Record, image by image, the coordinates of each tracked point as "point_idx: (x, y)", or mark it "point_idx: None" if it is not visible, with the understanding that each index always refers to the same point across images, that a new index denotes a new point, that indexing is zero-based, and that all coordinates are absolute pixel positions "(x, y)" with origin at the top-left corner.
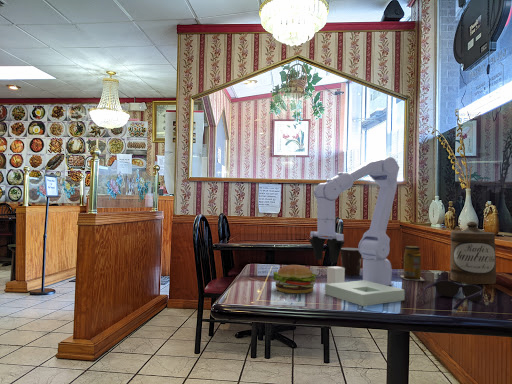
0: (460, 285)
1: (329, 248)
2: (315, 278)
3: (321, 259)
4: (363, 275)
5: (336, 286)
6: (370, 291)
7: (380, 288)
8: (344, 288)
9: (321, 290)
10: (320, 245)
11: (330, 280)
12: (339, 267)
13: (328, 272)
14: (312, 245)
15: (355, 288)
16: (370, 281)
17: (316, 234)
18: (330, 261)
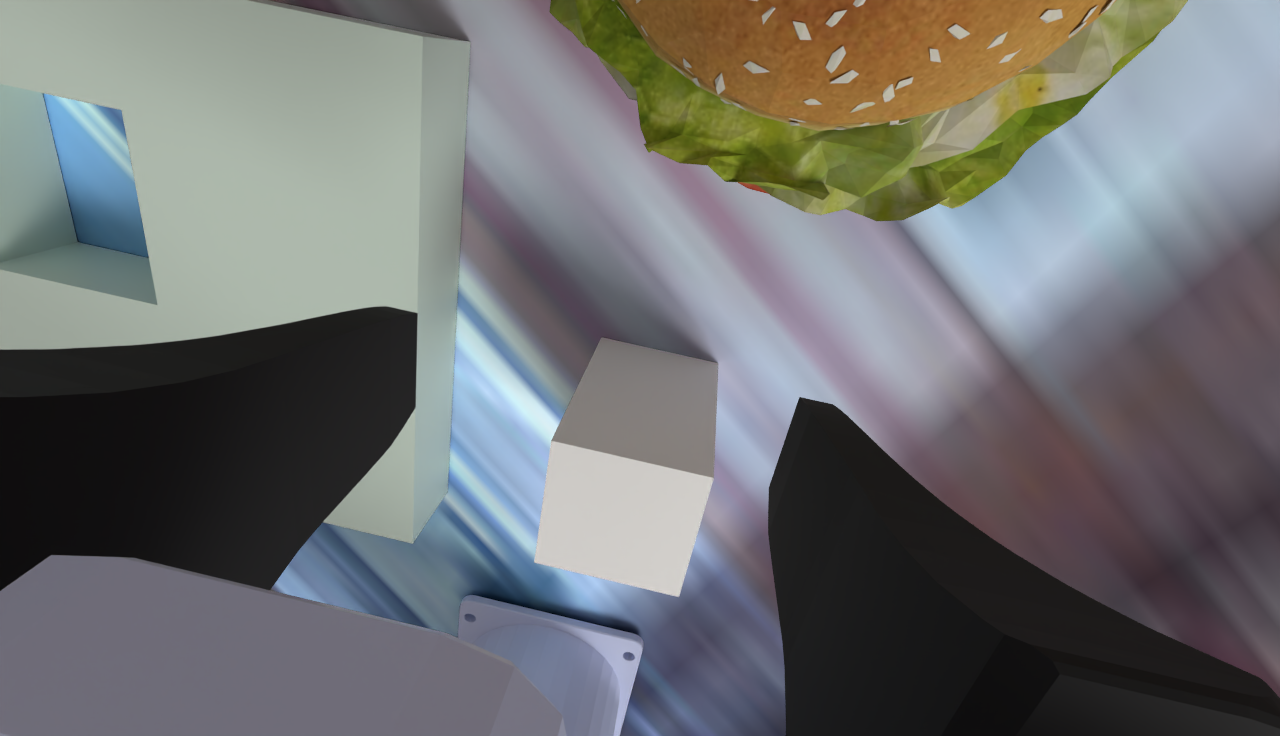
0: None
1: (179, 368)
2: (565, 17)
3: (772, 484)
4: (567, 692)
5: (252, 35)
6: (135, 282)
7: (58, 335)
8: (130, 21)
9: (622, 161)
10: (819, 699)
11: (661, 382)
12: (594, 551)
13: (692, 435)
14: (999, 562)
15: (136, 161)
16: (502, 644)
17: (213, 635)
18: (405, 315)
